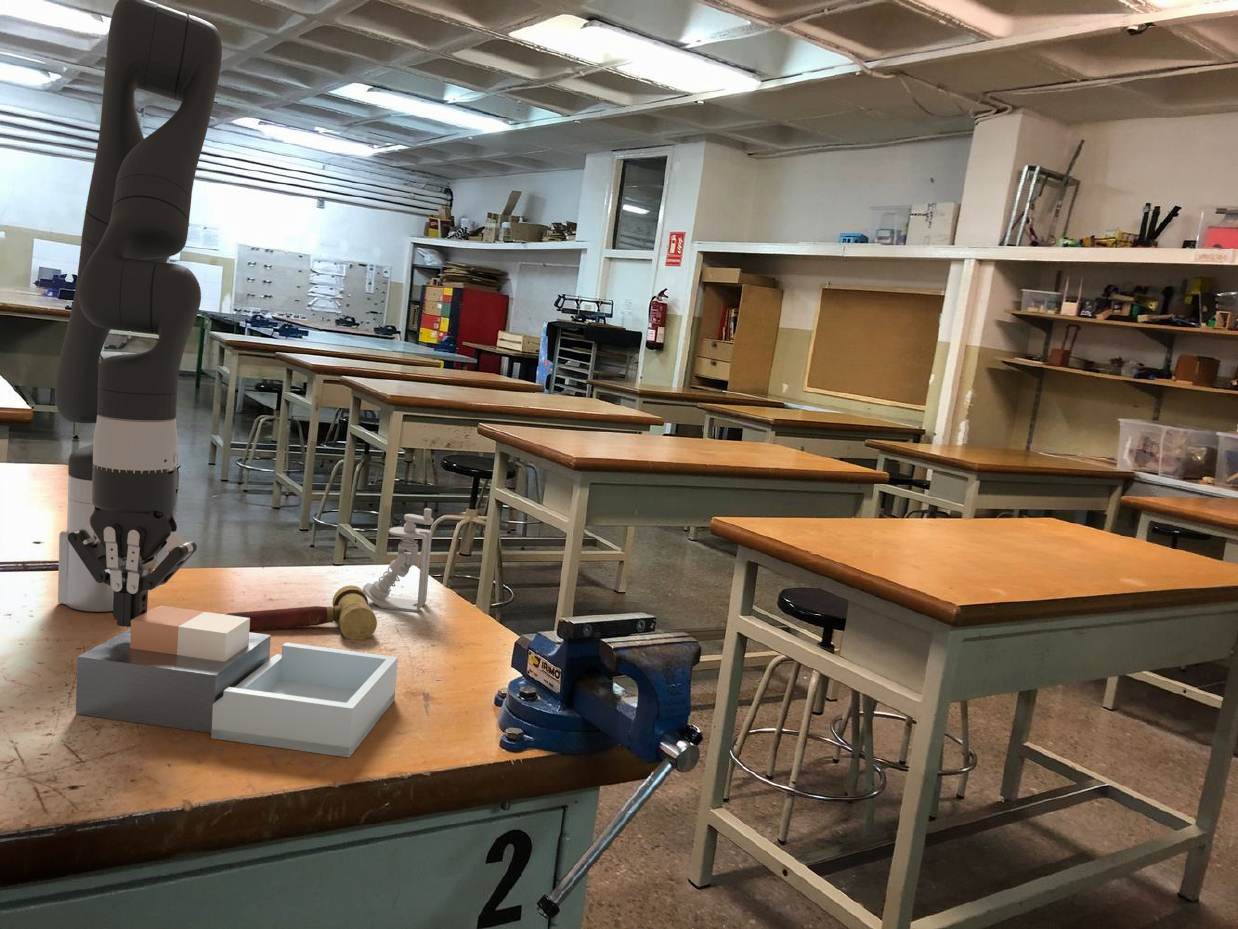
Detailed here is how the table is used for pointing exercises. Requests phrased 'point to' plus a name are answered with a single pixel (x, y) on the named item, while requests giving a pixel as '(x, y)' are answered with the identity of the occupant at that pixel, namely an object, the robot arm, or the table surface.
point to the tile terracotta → (159, 629)
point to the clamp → (405, 565)
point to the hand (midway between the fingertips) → (130, 624)
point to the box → (308, 700)
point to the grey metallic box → (160, 682)
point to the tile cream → (213, 636)
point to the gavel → (321, 615)
